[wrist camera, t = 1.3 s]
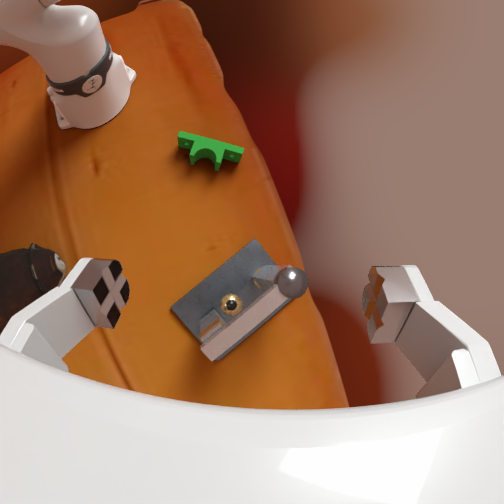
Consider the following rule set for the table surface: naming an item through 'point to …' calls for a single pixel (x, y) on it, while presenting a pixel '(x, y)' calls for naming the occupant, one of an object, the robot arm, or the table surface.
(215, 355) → the grey metal upright piece
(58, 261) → the dark brown oval body
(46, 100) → the table surface
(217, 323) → the post
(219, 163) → the pipe clamp
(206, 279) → the bolt hole plate
